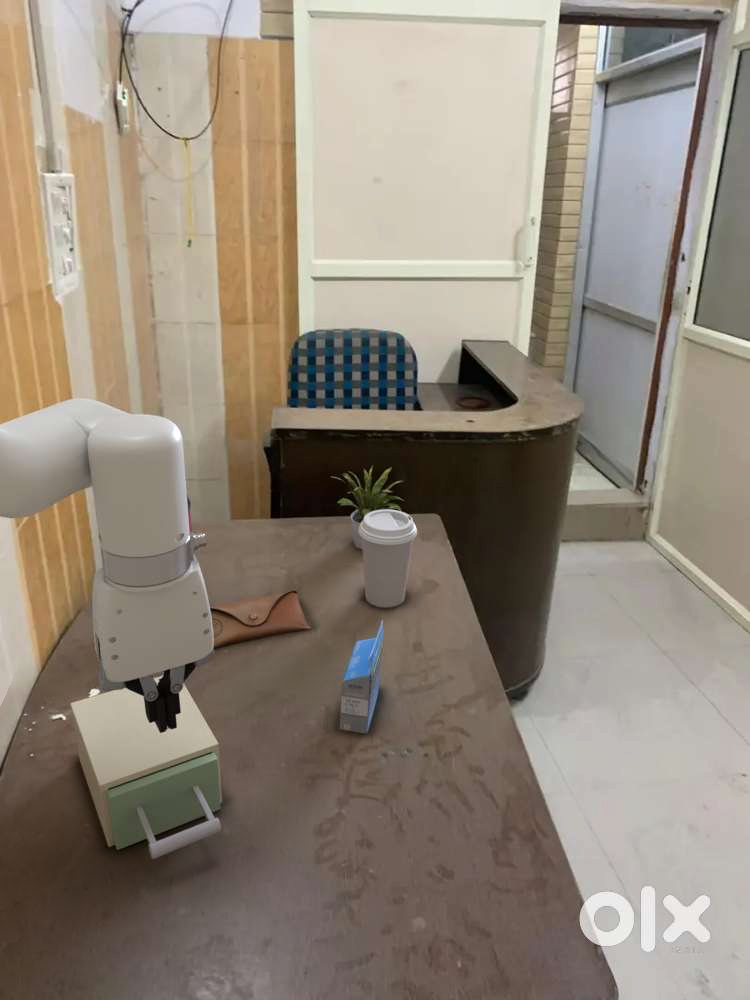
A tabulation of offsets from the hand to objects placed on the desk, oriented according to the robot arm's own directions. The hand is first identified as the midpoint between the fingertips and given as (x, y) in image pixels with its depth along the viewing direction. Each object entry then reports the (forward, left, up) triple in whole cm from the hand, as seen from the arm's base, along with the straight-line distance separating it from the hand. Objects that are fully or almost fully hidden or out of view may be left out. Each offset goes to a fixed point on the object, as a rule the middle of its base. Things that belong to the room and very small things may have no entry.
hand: (164, 721), depth 74 cm
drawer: (0, +5, -16) cm, 17 cm away
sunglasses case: (+23, +35, -17) cm, 45 cm away
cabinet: (0, +10, -17) cm, 20 cm away
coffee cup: (+46, +32, -17) cm, 59 cm away
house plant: (+52, +50, -17) cm, 75 cm away
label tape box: (+28, +9, -17) cm, 34 cm away
